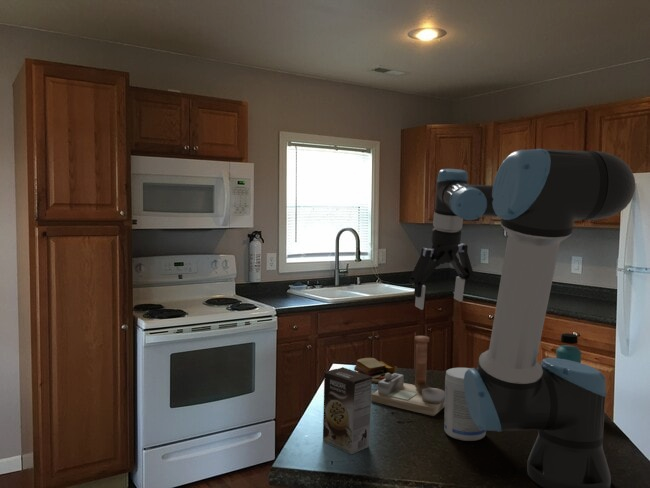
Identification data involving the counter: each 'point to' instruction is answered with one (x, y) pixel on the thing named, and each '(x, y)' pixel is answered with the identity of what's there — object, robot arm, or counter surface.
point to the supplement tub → (458, 408)
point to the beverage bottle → (569, 348)
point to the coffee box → (347, 409)
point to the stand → (403, 395)
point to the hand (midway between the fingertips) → (438, 303)
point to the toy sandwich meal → (374, 368)
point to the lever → (420, 374)
